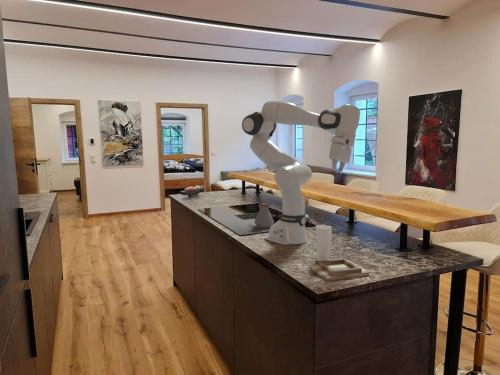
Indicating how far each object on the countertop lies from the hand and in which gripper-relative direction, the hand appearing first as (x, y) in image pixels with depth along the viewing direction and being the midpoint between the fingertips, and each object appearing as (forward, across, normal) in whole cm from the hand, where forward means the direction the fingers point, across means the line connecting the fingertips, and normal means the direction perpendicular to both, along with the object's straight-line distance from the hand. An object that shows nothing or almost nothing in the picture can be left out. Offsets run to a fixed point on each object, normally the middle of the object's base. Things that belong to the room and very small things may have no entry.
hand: (336, 171), depth 164 cm
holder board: (+38, +19, +16) cm, 46 cm away
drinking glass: (+39, +11, +6) cm, 41 cm away
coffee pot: (+42, -33, -47) cm, 71 cm away
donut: (+36, -53, -32) cm, 72 cm away
